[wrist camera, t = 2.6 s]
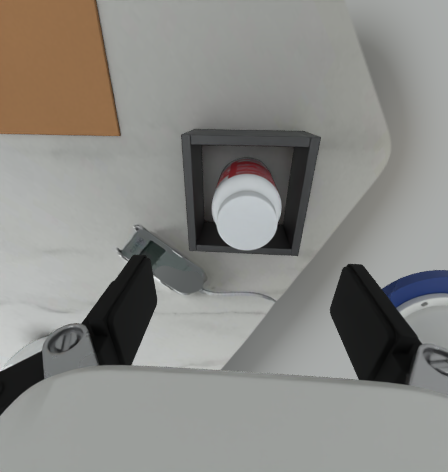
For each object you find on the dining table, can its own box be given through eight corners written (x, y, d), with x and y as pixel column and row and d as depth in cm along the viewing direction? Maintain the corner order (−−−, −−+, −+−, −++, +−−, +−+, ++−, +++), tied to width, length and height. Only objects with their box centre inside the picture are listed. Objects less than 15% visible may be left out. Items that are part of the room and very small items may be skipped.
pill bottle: (224, 151, 26) (212, 177, 16) (278, 162, 26) (299, 193, 16) (215, 203, 29) (202, 251, 19) (264, 212, 29) (275, 265, 19)
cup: (73, 335, 43) (46, 371, 37) (75, 366, 48) (51, 402, 42) (30, 325, 43) (-5, 360, 37) (36, 357, 47) (7, 393, 41)
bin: (304, 131, 24) (321, 137, 19) (288, 230, 30) (298, 256, 25) (193, 128, 25) (180, 134, 20) (198, 226, 31) (189, 250, 25)
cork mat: (93, -16, 20) (90, -18, 20) (120, 135, 26) (119, 136, 26) (-79, -13, 21) (-85, -15, 21) (-16, 132, 27) (-19, 133, 26)
